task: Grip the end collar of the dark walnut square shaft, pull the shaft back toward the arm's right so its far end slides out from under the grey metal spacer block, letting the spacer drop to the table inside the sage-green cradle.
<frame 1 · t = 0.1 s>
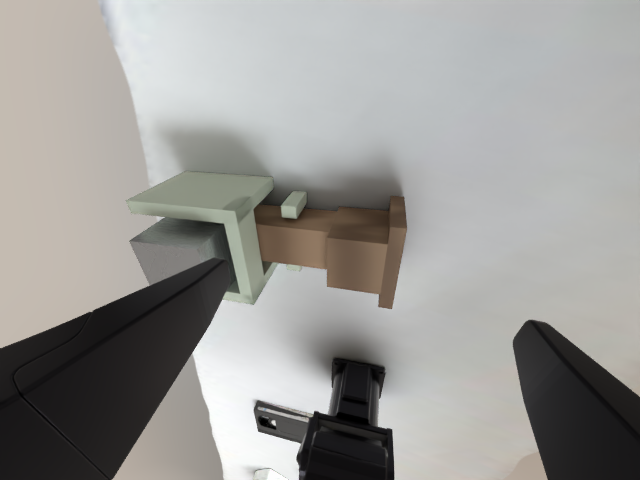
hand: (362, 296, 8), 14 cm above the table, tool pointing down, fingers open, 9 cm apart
vhs tape: (299, 417, 46), on the table
shaft: (285, 239, 22), point 3 cm above the table, slide at 0.0 cm, touching spacer
skincare box: (273, 473, 64), on the table
spacer: (213, 237, 23), point 4 cm above the table, touching shaft
cradle: (236, 216, 26), on the table
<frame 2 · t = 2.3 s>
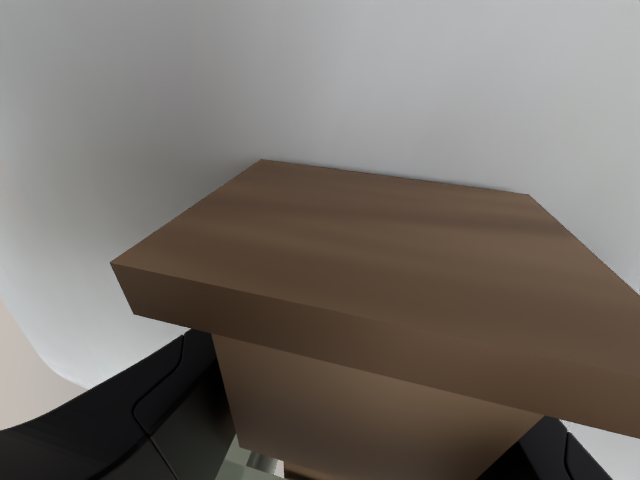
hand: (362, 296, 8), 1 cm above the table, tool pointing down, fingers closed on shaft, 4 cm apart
shaft: (337, 431, 10), point 3 cm above the table, slide at 0.0 cm, touching gripper, spacer
cradle: (335, 422, 16), on the table
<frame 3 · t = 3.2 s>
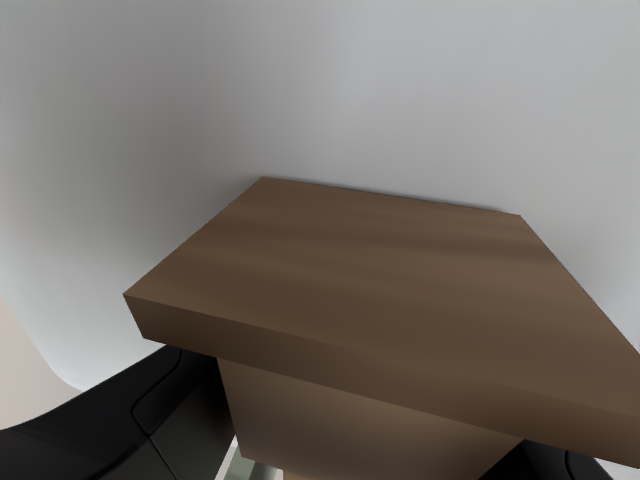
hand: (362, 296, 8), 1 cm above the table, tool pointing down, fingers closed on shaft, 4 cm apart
shaft: (334, 436, 10), point 3 cm above the table, slide at 1.1 cm, touching gripper
cradle: (332, 432, 17), on the table
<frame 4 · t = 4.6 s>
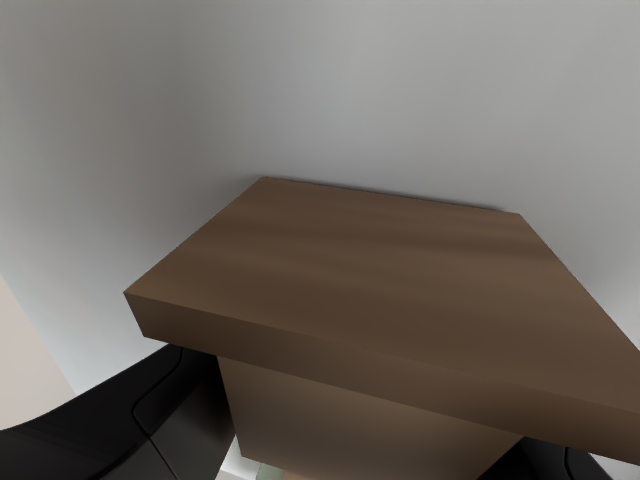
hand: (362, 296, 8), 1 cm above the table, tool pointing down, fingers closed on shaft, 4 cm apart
shaft: (335, 436, 10), point 3 cm above the table, slide at 8.2 cm, touching gripper
cradle: (324, 474, 20), on the table
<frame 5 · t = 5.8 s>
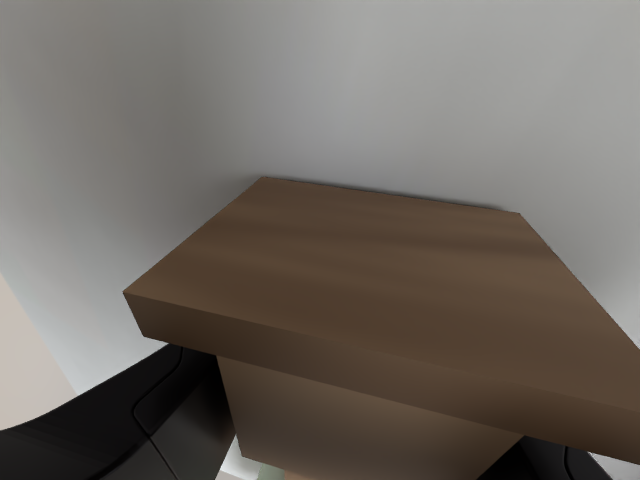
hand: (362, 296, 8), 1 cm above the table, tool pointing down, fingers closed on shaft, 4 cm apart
shaft: (335, 436, 10), point 3 cm above the table, slide at 8.4 cm, touching gripper
cradle: (325, 475, 21), on the table
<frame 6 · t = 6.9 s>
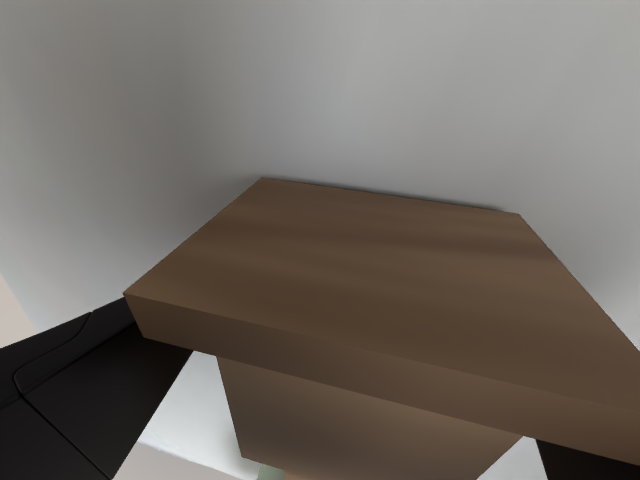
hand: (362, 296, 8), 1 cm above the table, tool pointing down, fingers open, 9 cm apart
shaft: (335, 437, 10), point 3 cm above the table, slide at 8.4 cm
cradle: (325, 476, 21), on the table
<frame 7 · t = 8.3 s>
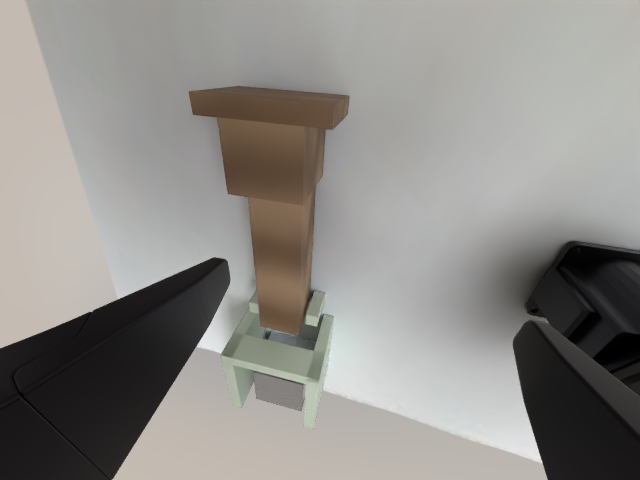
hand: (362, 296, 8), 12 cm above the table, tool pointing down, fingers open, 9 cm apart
shaft: (281, 237, 19), point 3 cm above the table, slide at 8.4 cm
spacer: (286, 355, 28), point 2 cm above the table, tilted 90°
cradle: (292, 334, 29), on the table
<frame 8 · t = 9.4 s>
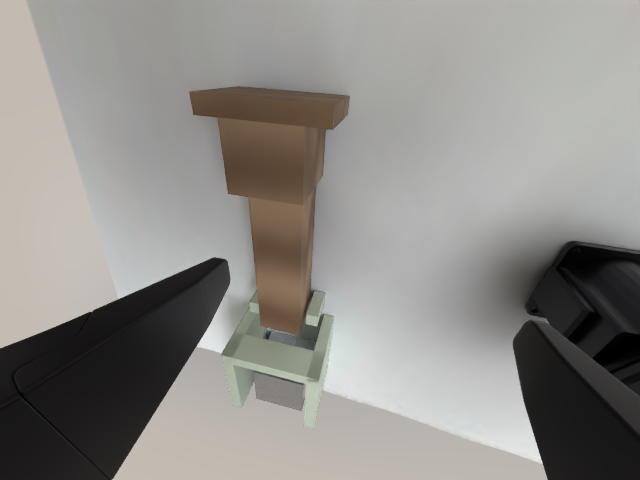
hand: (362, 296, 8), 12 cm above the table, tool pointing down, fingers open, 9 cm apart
shaft: (281, 237, 19), point 3 cm above the table, slide at 8.4 cm
spacer: (286, 355, 28), point 2 cm above the table, tilted 90°
cradle: (293, 334, 29), on the table
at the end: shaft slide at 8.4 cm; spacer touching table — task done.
